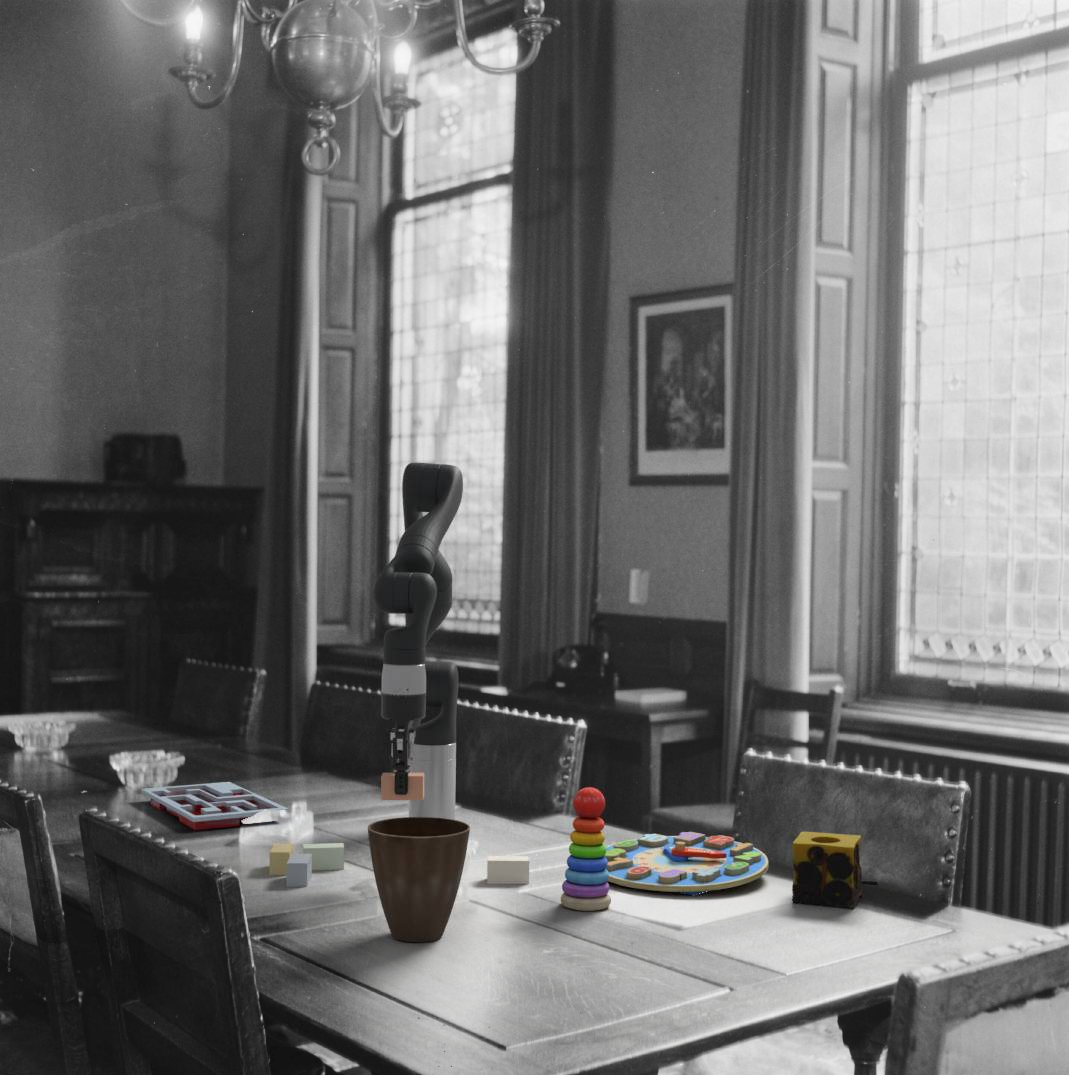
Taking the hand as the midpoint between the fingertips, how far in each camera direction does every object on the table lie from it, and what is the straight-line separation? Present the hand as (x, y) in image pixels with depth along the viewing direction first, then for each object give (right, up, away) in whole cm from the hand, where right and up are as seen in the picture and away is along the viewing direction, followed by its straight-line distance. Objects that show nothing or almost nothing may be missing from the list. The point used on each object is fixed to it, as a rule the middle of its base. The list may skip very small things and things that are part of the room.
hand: (402, 791), depth 239 cm
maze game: (-45, -15, +56) cm, 73 cm away
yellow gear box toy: (+70, -16, -8) cm, 73 cm away
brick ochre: (-21, -15, +6) cm, 27 cm away
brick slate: (-17, -15, -2) cm, 23 cm away
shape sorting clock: (+48, -16, +7) cm, 51 cm away
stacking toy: (+31, -16, -15) cm, 37 cm away
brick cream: (+18, -15, +1) cm, 24 cm away
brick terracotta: (0, -1, 0) cm, 1 cm away
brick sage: (-15, -15, +8) cm, 22 cm away
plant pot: (+5, -15, -33) cm, 37 cm away
